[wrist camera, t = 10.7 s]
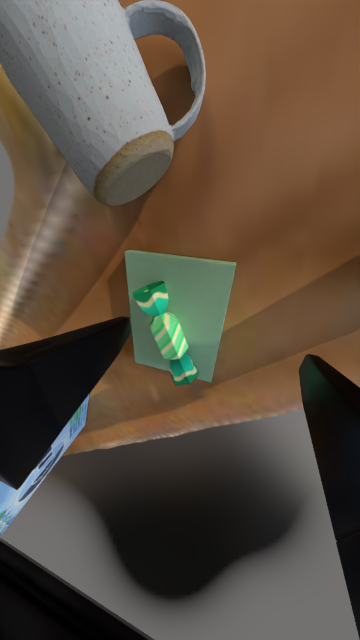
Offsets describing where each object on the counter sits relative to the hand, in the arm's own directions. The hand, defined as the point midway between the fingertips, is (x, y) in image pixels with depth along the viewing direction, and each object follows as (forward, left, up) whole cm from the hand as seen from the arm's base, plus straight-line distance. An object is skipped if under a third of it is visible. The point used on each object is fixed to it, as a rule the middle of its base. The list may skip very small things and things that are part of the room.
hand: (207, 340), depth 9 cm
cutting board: (+5, +6, -11) cm, 14 cm away
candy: (+5, +7, -10) cm, 13 cm away
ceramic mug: (+9, -12, -12) cm, 19 cm away
